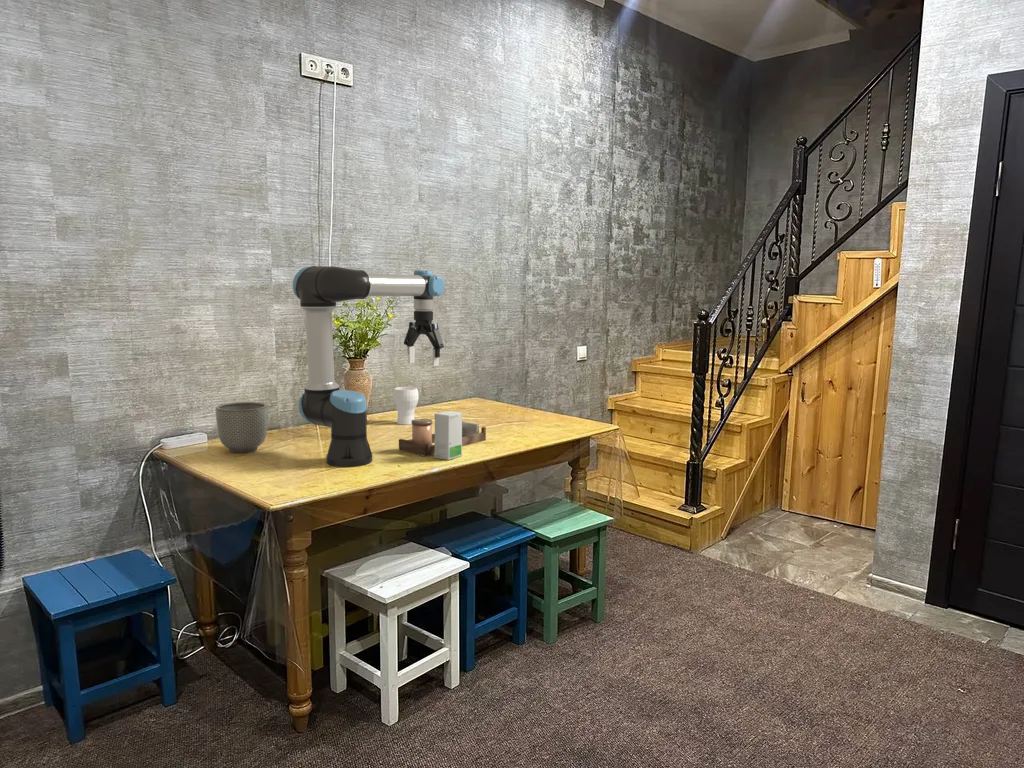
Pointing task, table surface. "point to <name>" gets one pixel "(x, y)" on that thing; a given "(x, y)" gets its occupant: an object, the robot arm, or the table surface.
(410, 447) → the frame
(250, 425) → the planter
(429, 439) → the jar
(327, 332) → the robot arm
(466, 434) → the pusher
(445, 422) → the skincare box
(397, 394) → the cup
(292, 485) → the table surface
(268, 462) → the table surface
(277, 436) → the table surface
